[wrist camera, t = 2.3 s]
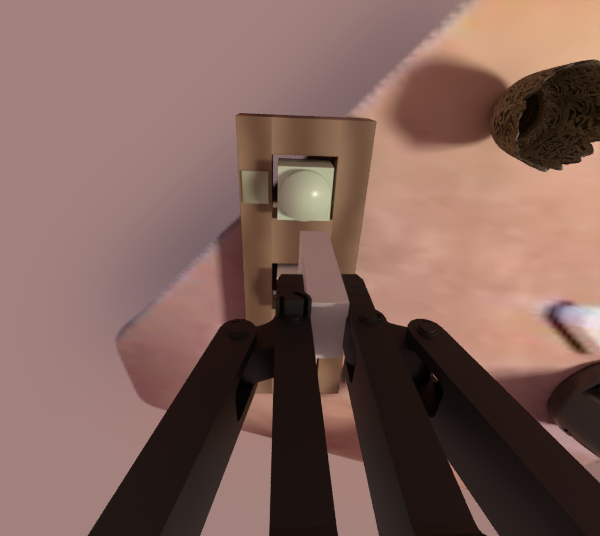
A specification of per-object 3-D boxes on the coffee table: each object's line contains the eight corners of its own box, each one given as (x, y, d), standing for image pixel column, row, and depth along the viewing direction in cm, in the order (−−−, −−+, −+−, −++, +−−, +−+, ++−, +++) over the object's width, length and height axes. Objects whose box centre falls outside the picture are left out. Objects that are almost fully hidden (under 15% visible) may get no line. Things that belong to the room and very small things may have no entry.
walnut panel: (368, 118, 30) (377, 121, 28) (335, 376, 47) (338, 394, 44) (240, 113, 30) (235, 115, 27) (251, 376, 46) (249, 394, 43)
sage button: (329, 160, 31) (335, 170, 27) (325, 208, 33) (330, 224, 29) (278, 158, 30) (277, 168, 27) (278, 207, 33) (277, 223, 29)
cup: (451, 112, 30) (500, 119, 23) (524, 46, 28) (603, 32, 21) (489, 169, 33) (543, 191, 26) (559, 113, 31) (638, 121, 24)
